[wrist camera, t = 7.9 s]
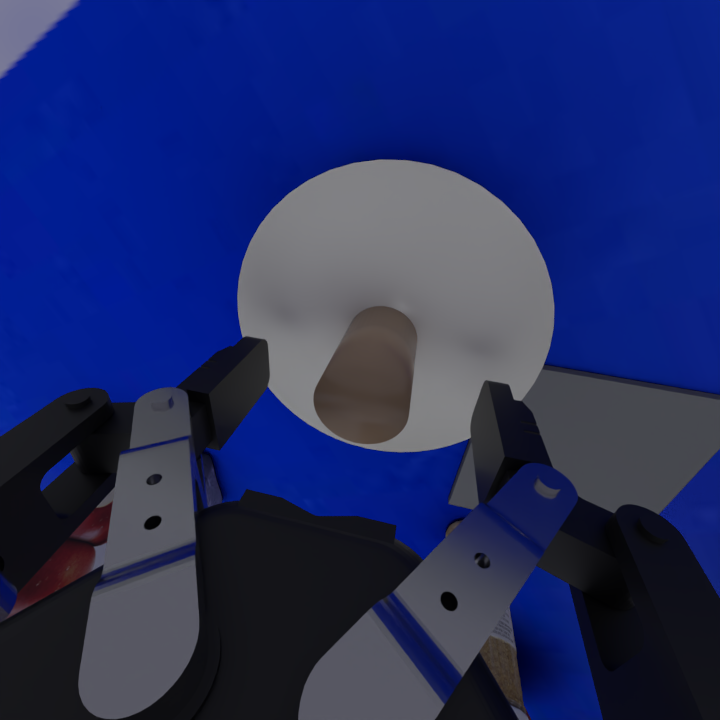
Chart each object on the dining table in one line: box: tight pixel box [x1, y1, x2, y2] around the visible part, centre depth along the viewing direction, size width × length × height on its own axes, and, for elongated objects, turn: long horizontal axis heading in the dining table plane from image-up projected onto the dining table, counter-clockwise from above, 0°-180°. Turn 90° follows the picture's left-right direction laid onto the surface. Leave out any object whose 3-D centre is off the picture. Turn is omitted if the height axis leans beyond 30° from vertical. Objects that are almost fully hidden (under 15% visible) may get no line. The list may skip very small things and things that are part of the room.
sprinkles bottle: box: [446, 520, 529, 720], centre depth 24 cm, size 5×5×14 cm
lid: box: [237, 160, 554, 452], centre depth 14 cm, size 14×14×6 cm
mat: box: [448, 365, 720, 514], centre depth 23 cm, size 14×14×1 cm
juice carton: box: [6, 453, 222, 619], centre depth 23 cm, size 9×10×27 cm
